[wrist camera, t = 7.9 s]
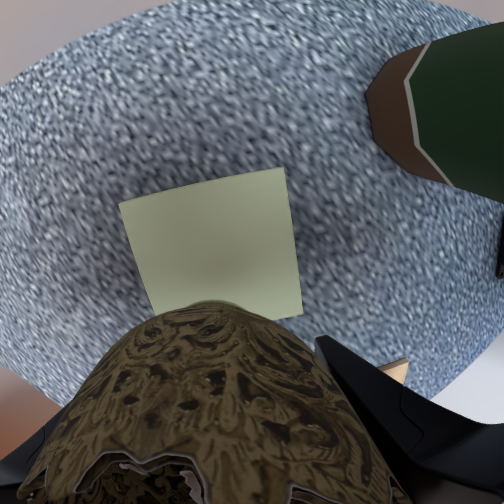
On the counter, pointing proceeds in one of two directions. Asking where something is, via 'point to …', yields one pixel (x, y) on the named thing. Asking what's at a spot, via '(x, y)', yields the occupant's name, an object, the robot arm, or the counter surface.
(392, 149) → the beer bottle
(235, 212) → the sage mat
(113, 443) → the brown ornate lampshade
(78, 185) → the counter surface
